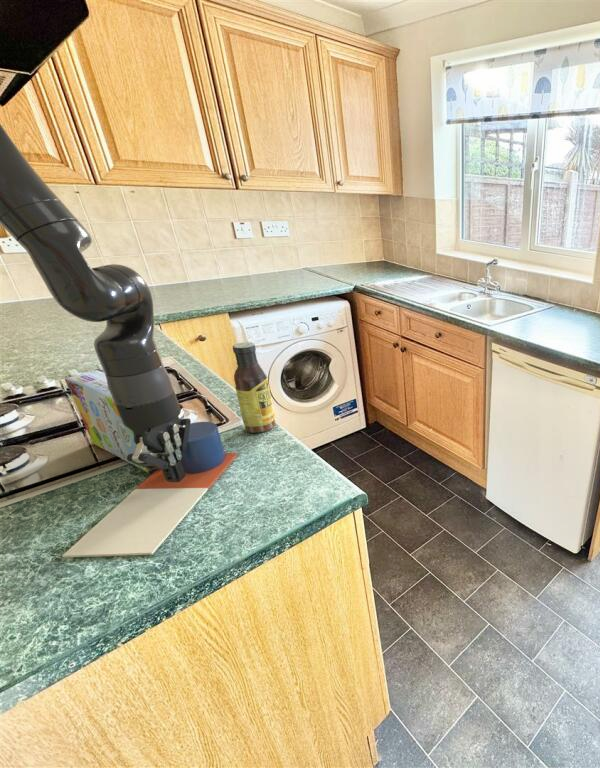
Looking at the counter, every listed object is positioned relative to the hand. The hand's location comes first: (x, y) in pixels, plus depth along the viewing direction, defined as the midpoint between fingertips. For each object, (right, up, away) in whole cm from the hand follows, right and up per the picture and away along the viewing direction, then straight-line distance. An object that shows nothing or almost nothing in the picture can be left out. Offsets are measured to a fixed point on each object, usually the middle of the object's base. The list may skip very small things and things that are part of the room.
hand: (176, 479), depth 75 cm
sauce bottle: (+3, +7, +21) cm, 22 cm away
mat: (-1, -3, -2) cm, 3 cm away
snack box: (-16, +3, +9) cm, 19 cm away
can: (-1, +2, +7) cm, 8 cm away
